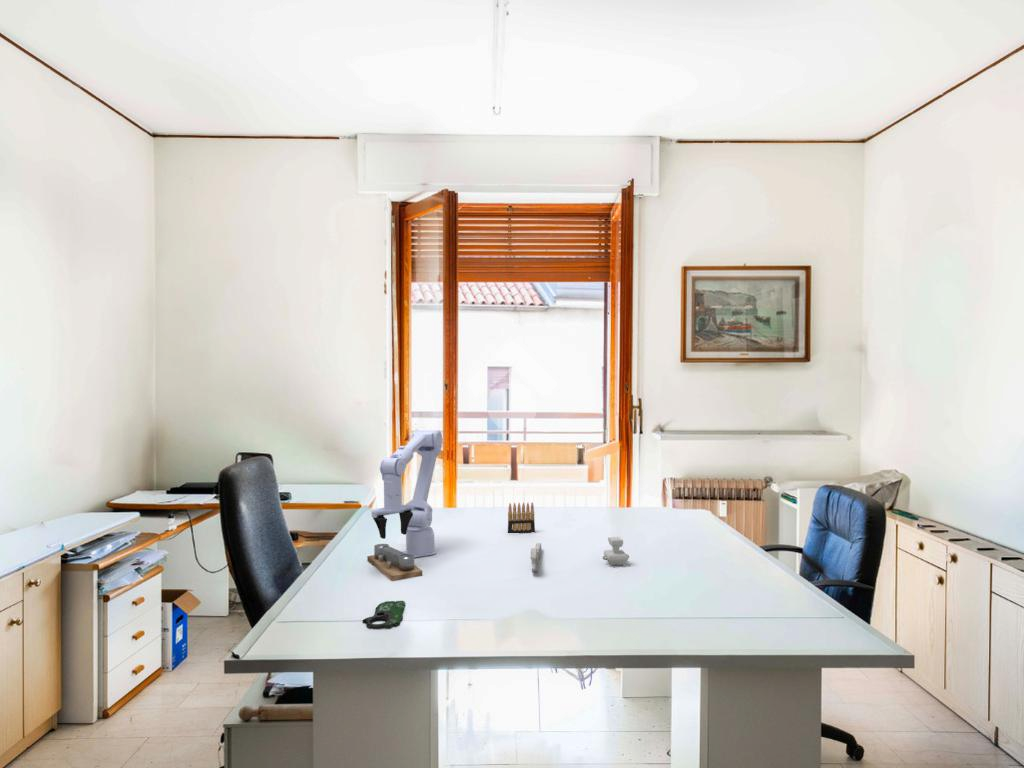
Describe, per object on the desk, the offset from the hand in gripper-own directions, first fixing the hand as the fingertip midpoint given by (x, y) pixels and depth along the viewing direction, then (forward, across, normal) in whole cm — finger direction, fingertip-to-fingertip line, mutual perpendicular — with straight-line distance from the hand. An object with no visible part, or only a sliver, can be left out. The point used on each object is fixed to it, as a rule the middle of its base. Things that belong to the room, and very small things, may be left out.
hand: (393, 536), depth 204 cm
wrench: (+11, -38, +27) cm, 48 cm away
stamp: (+11, -57, +45) cm, 74 cm away
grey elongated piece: (+9, 0, 0) cm, 9 cm away
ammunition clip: (+11, -60, -5) cm, 61 cm away
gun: (+11, +22, +34) cm, 42 cm away
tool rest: (+10, 0, 0) cm, 10 cm away
